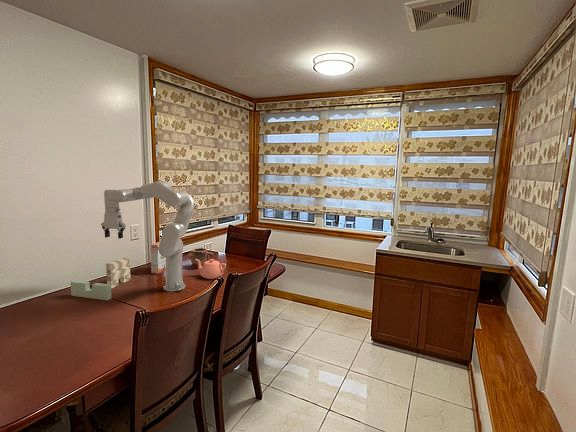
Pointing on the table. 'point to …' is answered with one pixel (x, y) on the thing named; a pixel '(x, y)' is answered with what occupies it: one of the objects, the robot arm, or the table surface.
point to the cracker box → (157, 260)
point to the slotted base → (91, 290)
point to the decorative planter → (199, 256)
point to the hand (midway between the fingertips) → (114, 237)
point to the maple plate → (118, 271)
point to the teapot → (211, 269)
